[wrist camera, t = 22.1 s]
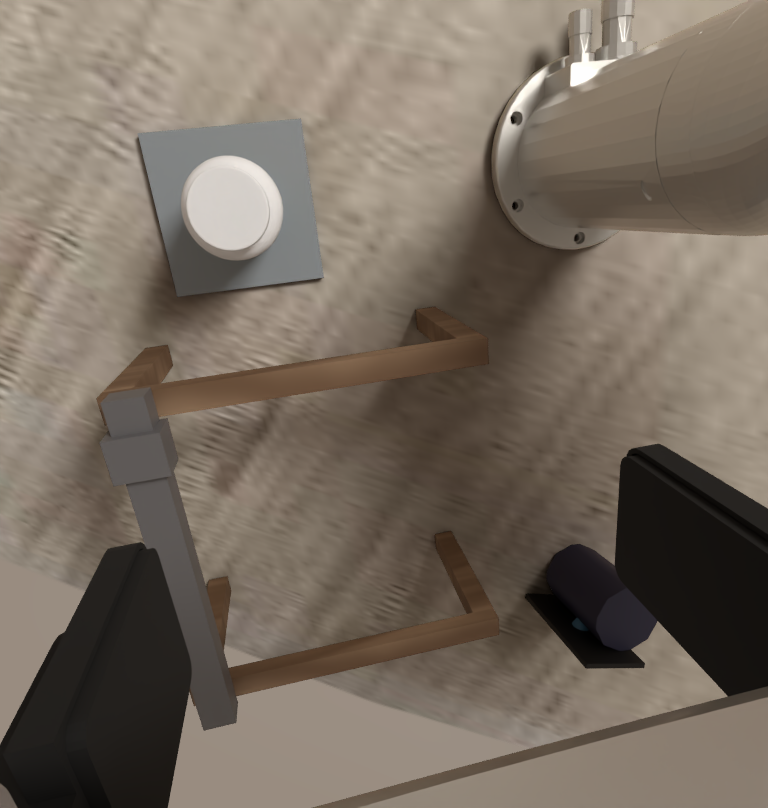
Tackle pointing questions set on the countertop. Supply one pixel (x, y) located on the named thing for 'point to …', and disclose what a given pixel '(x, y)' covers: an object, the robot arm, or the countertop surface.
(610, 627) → the speaker
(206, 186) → the supplement bottle
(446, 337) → the frame
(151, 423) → the tie bar
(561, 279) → the countertop surface
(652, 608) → the robot arm
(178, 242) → the slate mat
